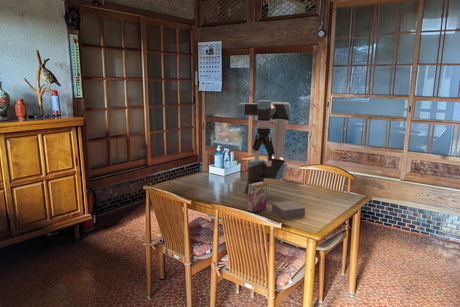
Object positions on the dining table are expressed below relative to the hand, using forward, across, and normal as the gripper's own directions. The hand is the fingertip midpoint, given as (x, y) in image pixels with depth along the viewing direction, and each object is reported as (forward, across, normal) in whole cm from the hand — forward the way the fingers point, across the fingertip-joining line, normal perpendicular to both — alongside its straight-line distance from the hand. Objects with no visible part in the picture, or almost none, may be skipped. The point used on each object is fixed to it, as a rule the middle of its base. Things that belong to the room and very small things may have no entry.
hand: (262, 163), depth 205 cm
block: (+29, +11, +12) cm, 33 cm away
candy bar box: (+29, -2, -2) cm, 29 cm away
